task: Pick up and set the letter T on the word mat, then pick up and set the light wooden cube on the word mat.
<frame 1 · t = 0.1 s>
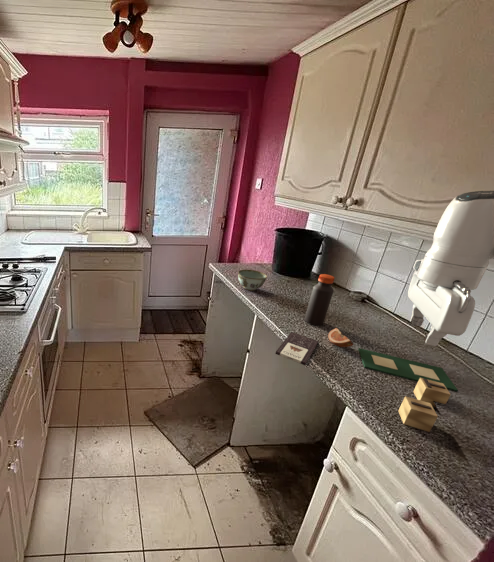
hand: (422, 333, 68), 26 cm above the countertop, tool pointing down, fingers open, 8 cm apart
fruit slice: (338, 346, 111), on the countertop
bowl: (249, 288, 159), on the countertop
light wooden cube: (413, 421, 79), on the countertop
word mat: (402, 368, 99), on the countertop
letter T: (427, 400, 86), on the countertop
bottle: (313, 322, 127), on the countertop
chocolate bar: (297, 348, 108), on the countertop
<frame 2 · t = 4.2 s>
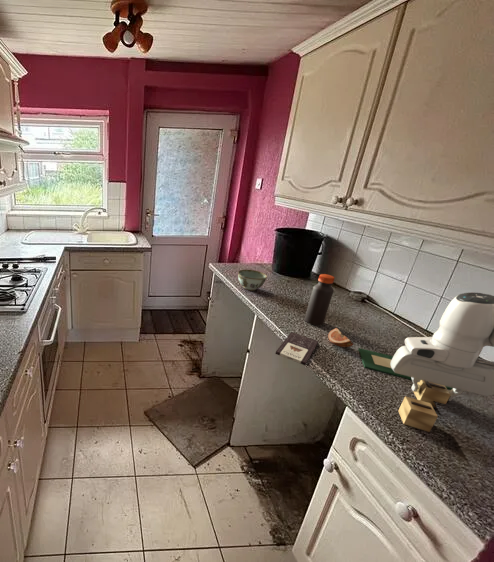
hand: (430, 394, 85), 2 cm above the countertop, tool pointing down, fingers closed on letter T, 5 cm apart
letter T: (427, 400, 86), on the countertop, touching gripper
everything else where it was.
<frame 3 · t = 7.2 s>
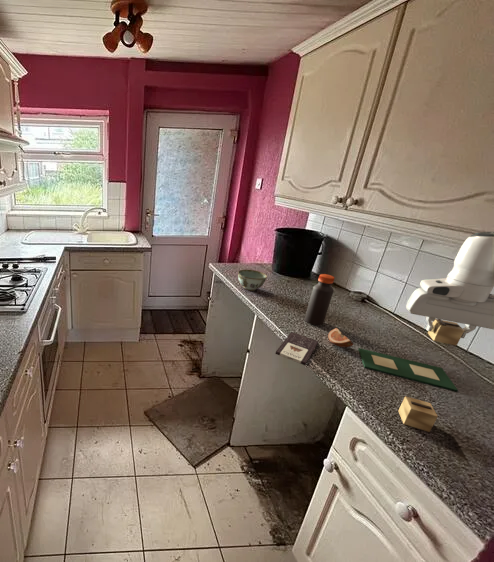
hand: (444, 333, 90), 15 cm above the countertop, tool pointing down, fingers closed on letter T, 5 cm apart
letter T: (441, 339, 91), point 13 cm above the countertop, touching gripper
everything else where it was.
when the fingers open (2 cm above the countertop, at t = 10.6 s): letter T stays where it is, resting on word mat.
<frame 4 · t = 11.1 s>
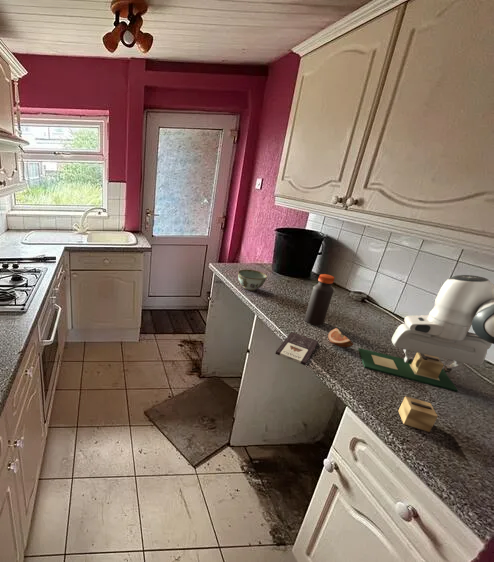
hand: (426, 366, 96), 3 cm above the countertop, tool pointing down, fingers open, 8 cm apart
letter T: (423, 371, 97), point 1 cm above the countertop, touching word mat
everything else where it was.
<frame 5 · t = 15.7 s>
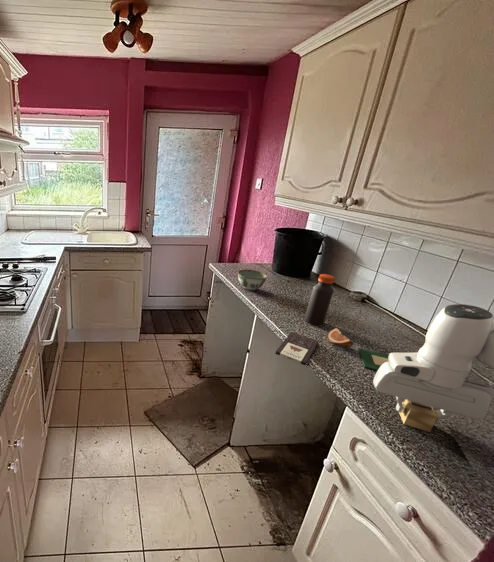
hand: (415, 415, 78), 2 cm above the countertop, tool pointing down, fingers closed on light wooden cube, 5 cm apart
light wooden cube: (413, 421, 79), on the countertop, touching gripper
everything else where it was.
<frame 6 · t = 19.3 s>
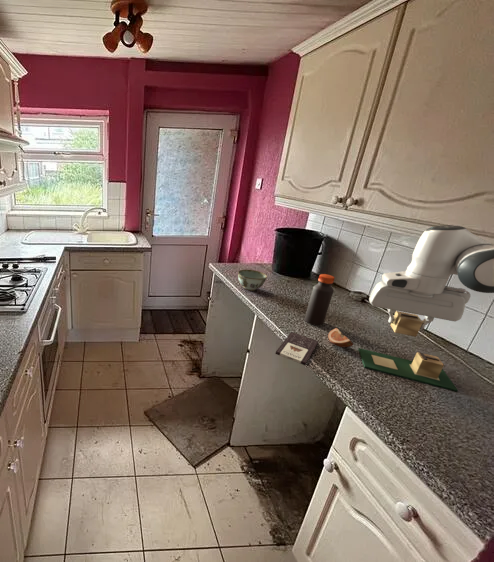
hand: (404, 325, 93), 16 cm above the countertop, tool pointing down, fingers closed on light wooden cube, 5 cm apart
light wooden cube: (402, 330, 93), point 14 cm above the countertop, touching gripper
everything else where it was.
when the fingers open (2 cm above the countertop, at t = 23.0 s): light wooden cube stays where it is, resting on word mat.
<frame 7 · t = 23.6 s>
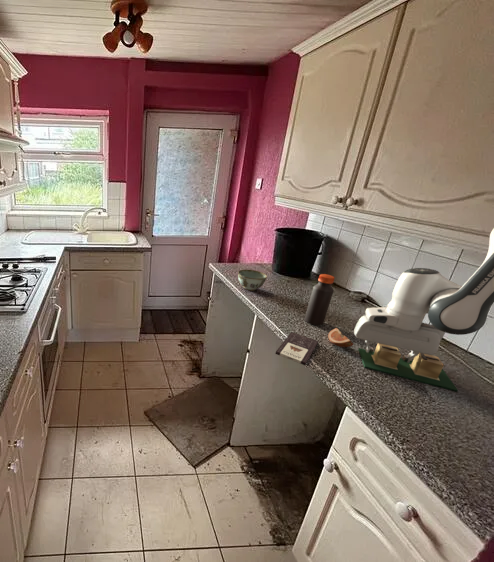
hand: (386, 356, 100), 3 cm above the countertop, tool pointing down, fingers open, 8 cm apart
light wooden cube: (383, 361, 101), point 1 cm above the countertop, touching word mat
everything else where it was.
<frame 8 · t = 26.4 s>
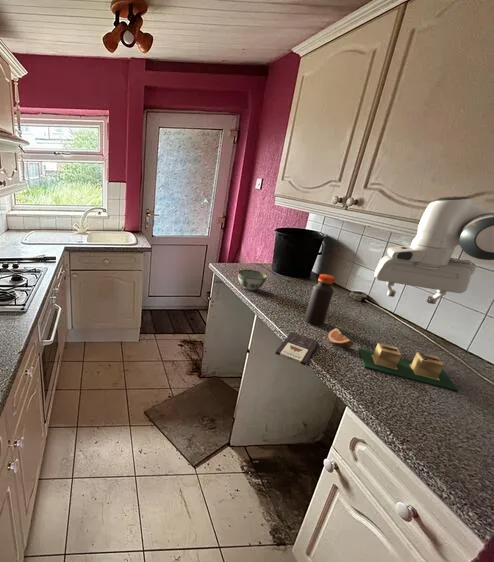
hand: (409, 299, 93), 23 cm above the countertop, tool pointing down, fingers open, 8 cm apart
nothing on the countertop moved.
at the end: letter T 0.1 cm from the target spot on the word mat, point 0.7 cm above the word mat's base; light wooden cube 0.0 cm from the target spot on the word mat, point 0.7 cm above the word mat's base; light wooden cube tilted 0° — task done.
